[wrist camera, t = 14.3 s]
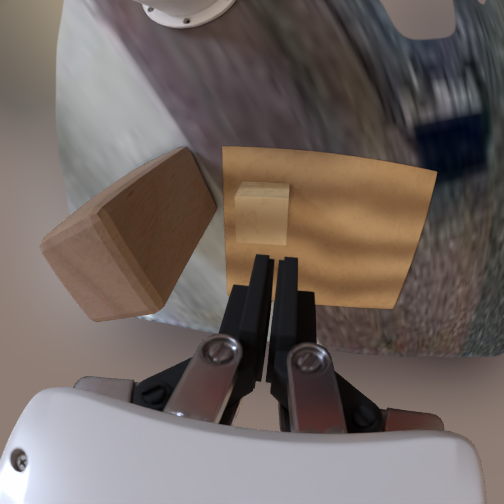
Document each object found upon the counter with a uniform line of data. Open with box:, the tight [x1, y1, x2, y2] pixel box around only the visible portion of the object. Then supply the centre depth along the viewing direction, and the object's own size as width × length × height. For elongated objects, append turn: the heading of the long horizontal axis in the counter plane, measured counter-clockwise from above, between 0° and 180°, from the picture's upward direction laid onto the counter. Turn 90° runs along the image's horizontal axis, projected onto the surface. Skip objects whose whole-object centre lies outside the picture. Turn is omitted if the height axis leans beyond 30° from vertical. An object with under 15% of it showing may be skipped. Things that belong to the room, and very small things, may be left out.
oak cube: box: [234, 182, 290, 245], centre depth 35 cm, size 6×6×5 cm
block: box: [40, 147, 216, 322], centre depth 29 cm, size 10×10×20 cm
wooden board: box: [222, 146, 437, 309], centre depth 38 cm, size 24×28×1 cm
